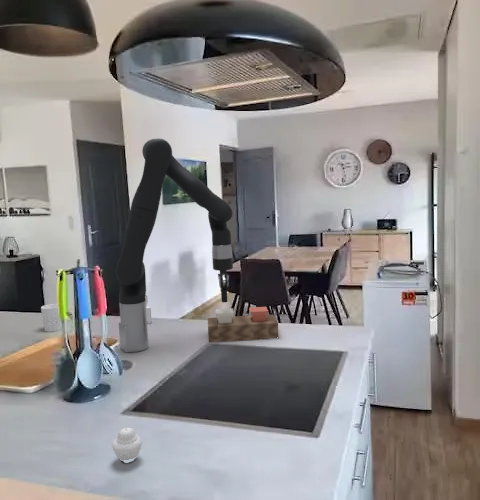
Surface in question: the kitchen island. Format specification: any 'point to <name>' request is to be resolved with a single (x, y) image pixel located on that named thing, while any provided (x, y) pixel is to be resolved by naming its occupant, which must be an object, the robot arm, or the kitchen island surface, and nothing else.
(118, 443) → the muffin
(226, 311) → the white block
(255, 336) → the button box
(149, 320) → the medicine bottle
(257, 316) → the red square flowerpot
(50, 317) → the white cup
